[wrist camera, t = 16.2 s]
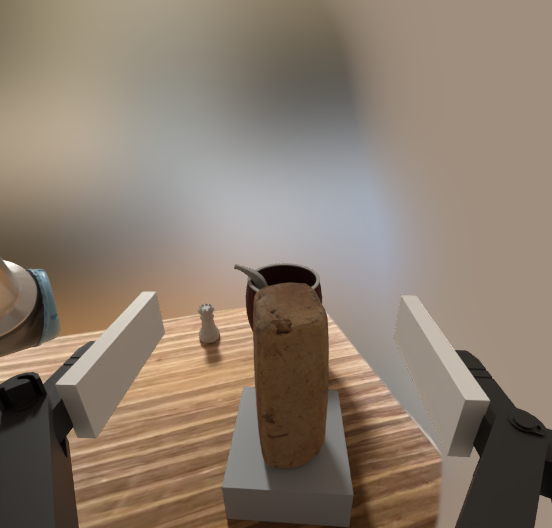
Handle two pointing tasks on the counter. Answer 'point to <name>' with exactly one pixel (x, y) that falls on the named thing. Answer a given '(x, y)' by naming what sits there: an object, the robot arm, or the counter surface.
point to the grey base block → (288, 475)
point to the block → (290, 373)
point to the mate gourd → (276, 280)
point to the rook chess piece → (208, 325)
